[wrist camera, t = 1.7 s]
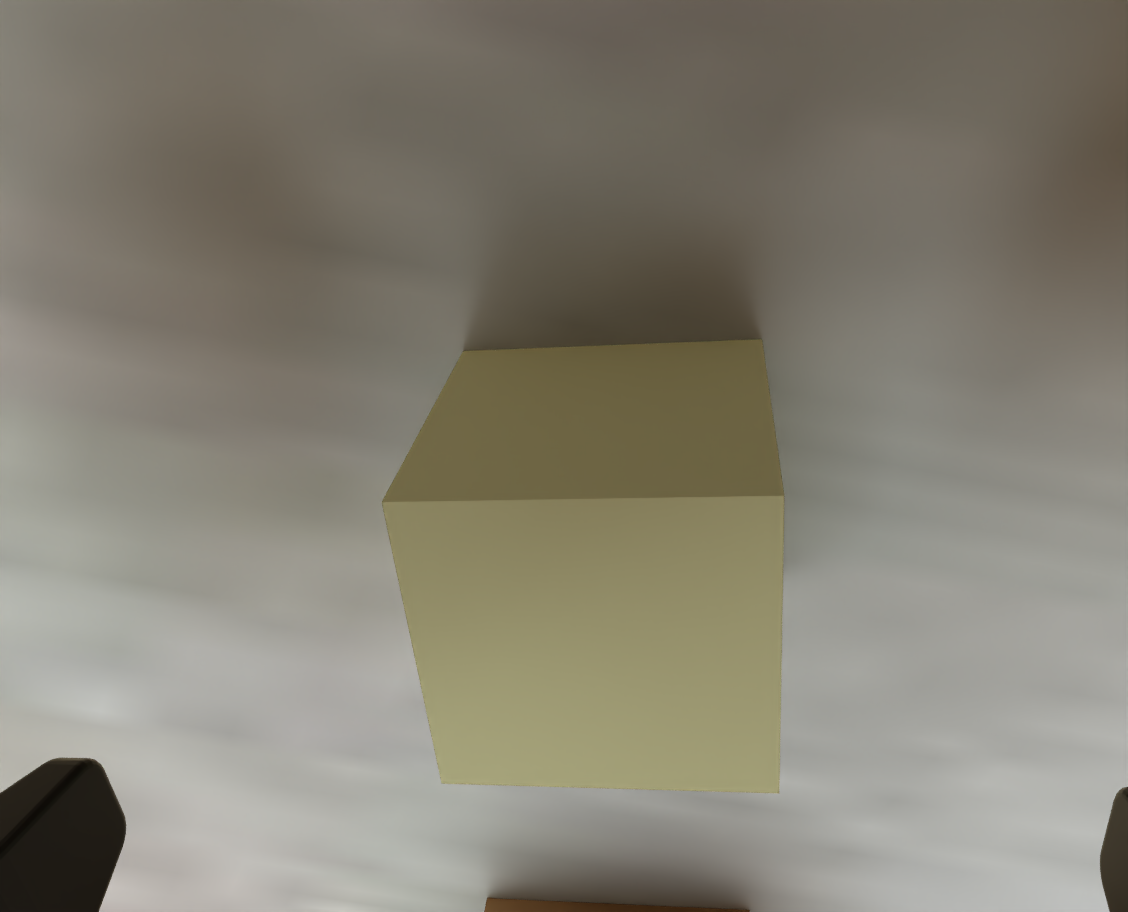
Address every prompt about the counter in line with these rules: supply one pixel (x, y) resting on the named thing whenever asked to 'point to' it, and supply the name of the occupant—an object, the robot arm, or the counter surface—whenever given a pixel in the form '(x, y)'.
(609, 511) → the sage block
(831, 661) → the counter surface
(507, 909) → the walnut base
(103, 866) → the robot arm
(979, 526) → the counter surface
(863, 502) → the counter surface
